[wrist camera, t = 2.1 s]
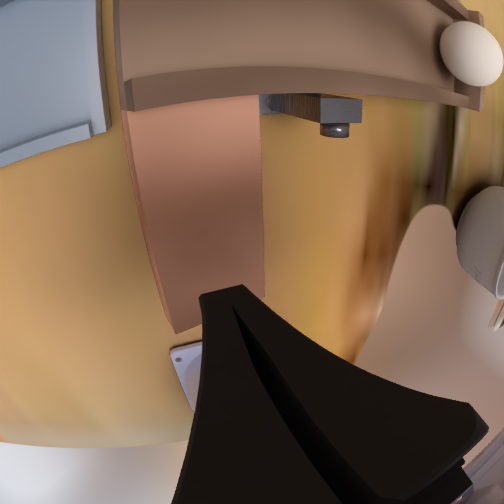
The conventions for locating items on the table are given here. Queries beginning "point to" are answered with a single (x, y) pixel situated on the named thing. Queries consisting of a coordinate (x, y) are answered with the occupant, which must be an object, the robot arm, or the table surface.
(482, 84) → the ball
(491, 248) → the teacup
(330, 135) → the lever stand
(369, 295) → the table surface
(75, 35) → the bin
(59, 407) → the table surface
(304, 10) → the lever
